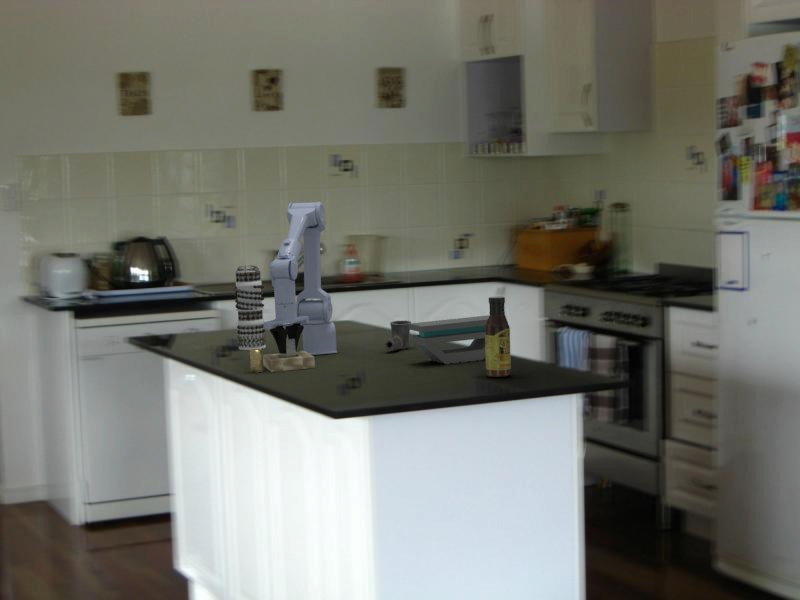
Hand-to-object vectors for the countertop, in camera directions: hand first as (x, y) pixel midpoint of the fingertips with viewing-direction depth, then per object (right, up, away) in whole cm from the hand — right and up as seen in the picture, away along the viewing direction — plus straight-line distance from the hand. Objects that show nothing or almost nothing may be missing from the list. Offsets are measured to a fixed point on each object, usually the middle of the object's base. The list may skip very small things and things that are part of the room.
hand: (288, 352), depth 345 cm
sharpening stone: (+46, -2, -1) cm, 46 cm away
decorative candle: (-14, 0, +40) cm, 42 cm away
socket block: (0, -4, 0) cm, 4 cm away
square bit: (0, -3, +1) cm, 3 cm away
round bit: (-8, -5, -6) cm, 11 cm away
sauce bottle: (+55, -5, -28) cm, 62 cm away
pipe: (+30, 0, +22) cm, 38 cm away
